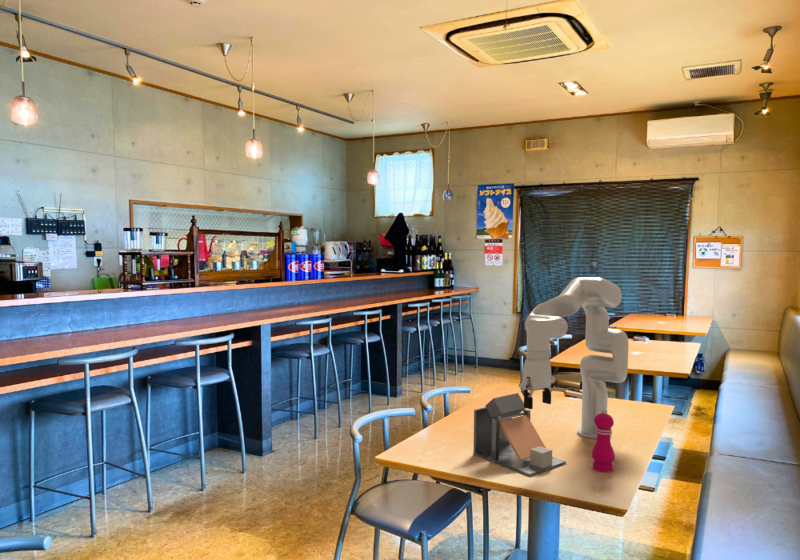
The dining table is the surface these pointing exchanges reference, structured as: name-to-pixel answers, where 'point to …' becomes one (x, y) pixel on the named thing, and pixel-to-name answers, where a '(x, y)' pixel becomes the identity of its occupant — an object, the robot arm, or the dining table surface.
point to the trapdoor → (515, 424)
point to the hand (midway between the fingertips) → (537, 405)
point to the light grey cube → (541, 457)
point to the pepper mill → (603, 443)
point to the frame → (502, 444)
